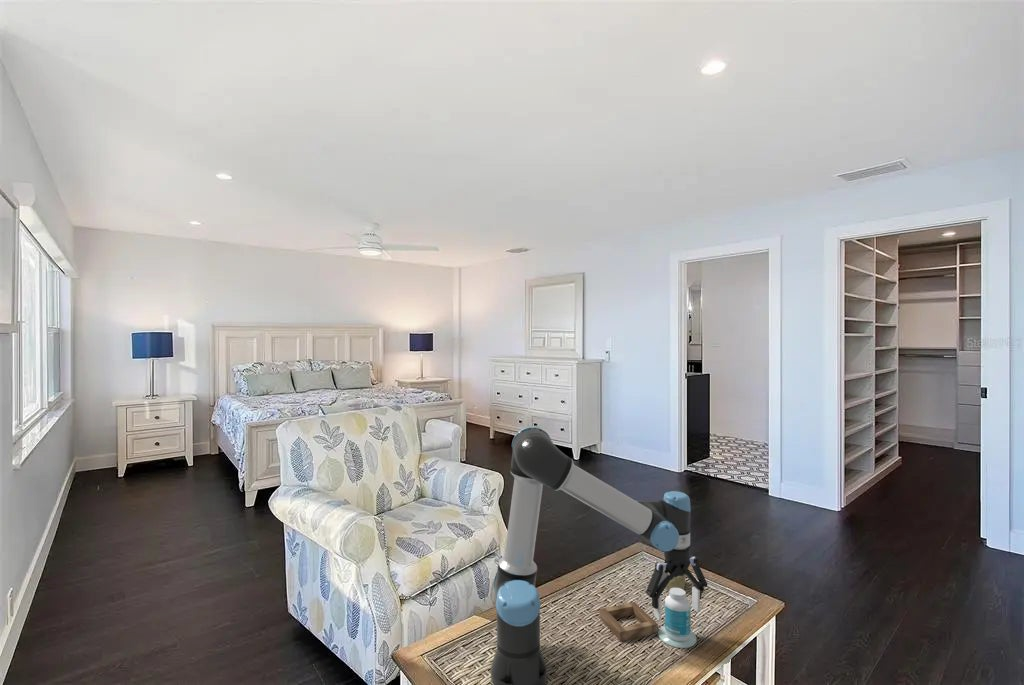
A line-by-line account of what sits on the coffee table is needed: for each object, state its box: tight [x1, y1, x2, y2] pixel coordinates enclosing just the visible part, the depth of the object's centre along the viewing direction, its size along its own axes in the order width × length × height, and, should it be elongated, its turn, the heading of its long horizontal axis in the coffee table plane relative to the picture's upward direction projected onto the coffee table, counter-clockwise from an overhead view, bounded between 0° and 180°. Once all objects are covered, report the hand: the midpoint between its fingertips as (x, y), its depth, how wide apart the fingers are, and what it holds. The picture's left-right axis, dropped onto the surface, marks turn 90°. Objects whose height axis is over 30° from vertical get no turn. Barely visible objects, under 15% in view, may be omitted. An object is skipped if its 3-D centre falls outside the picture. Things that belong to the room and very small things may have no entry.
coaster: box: [657, 625, 697, 649], centre depth 152 cm, size 11×11×1 cm
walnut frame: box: [598, 601, 659, 642], centre depth 158 cm, size 13×13×3 cm
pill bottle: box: [664, 588, 692, 641], centre depth 152 cm, size 8×7×14 cm
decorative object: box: [662, 568, 687, 592], centre depth 182 cm, size 9×10×10 cm
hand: (677, 613), depth 152 cm, fingers open, 13 cm apart
